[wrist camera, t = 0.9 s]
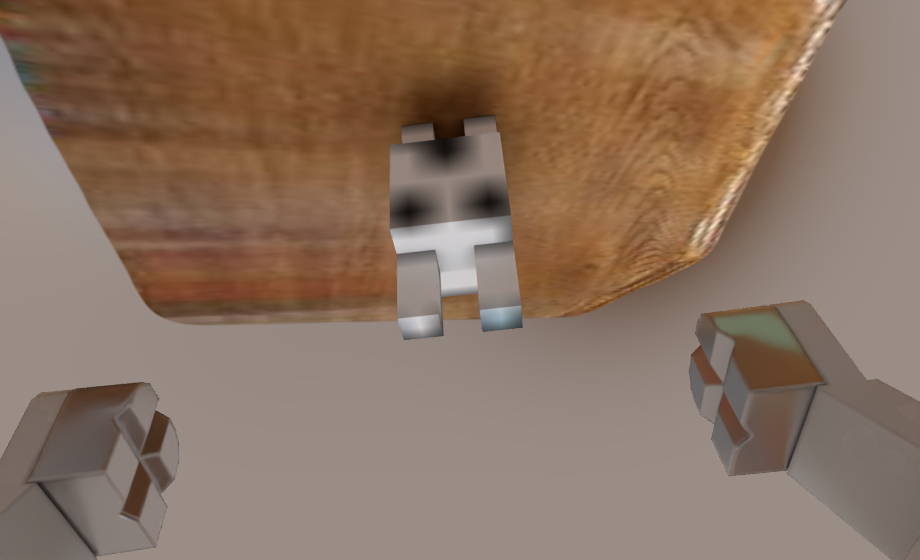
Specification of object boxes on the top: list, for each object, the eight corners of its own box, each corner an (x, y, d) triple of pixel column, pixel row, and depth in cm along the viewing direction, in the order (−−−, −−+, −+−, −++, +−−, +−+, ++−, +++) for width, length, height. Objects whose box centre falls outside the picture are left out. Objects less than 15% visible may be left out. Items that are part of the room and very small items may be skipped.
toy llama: (424, 227, 66) (431, 422, 54) (390, 75, 52) (389, 295, 40) (503, 218, 66) (527, 413, 54) (490, 63, 52) (519, 281, 40)
